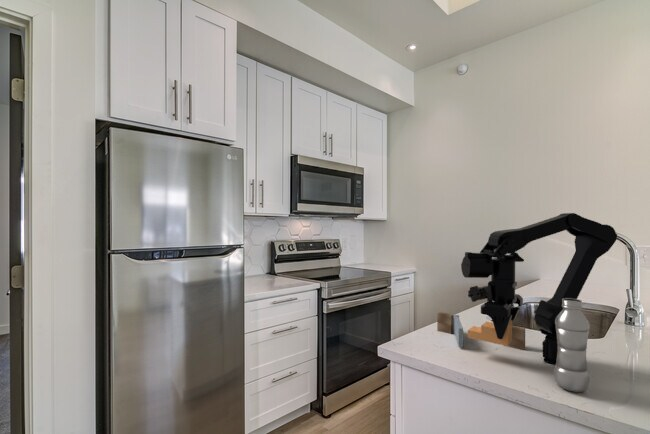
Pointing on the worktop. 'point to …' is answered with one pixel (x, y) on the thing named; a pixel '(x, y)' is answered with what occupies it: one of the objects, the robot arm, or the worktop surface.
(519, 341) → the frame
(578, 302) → the silver bottle
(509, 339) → the orange stepped block
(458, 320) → the grey piece
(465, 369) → the worktop surface
